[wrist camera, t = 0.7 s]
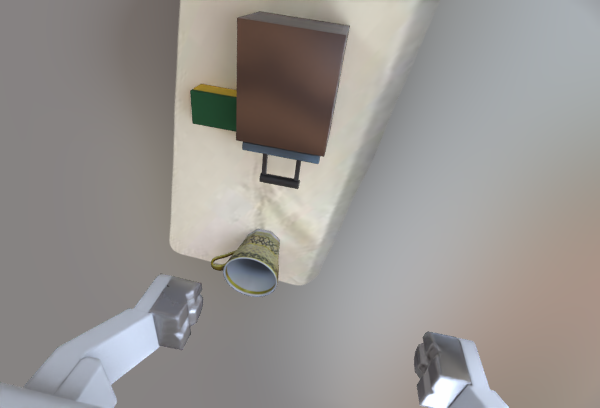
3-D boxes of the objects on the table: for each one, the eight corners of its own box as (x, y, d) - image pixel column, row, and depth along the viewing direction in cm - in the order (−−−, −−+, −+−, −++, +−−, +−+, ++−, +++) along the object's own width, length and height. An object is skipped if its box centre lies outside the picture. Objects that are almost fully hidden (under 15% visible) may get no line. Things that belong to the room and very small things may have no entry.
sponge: (200, 83, 50) (190, 90, 47) (247, 91, 49) (239, 99, 46) (202, 115, 53) (192, 123, 49) (246, 123, 52) (239, 132, 49)
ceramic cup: (290, 227, 63) (279, 263, 55) (286, 263, 68) (275, 301, 60) (225, 215, 64) (205, 249, 56) (226, 251, 69) (208, 287, 61)
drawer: (318, 174, 54) (312, 197, 48) (254, 162, 55) (241, 184, 49) (340, 49, 43) (336, 60, 37) (260, 36, 44) (244, 45, 38)
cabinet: (330, 131, 51) (324, 156, 43) (254, 117, 51) (236, 140, 44) (349, 25, 42) (346, 35, 35) (259, 11, 43) (237, 17, 35)
